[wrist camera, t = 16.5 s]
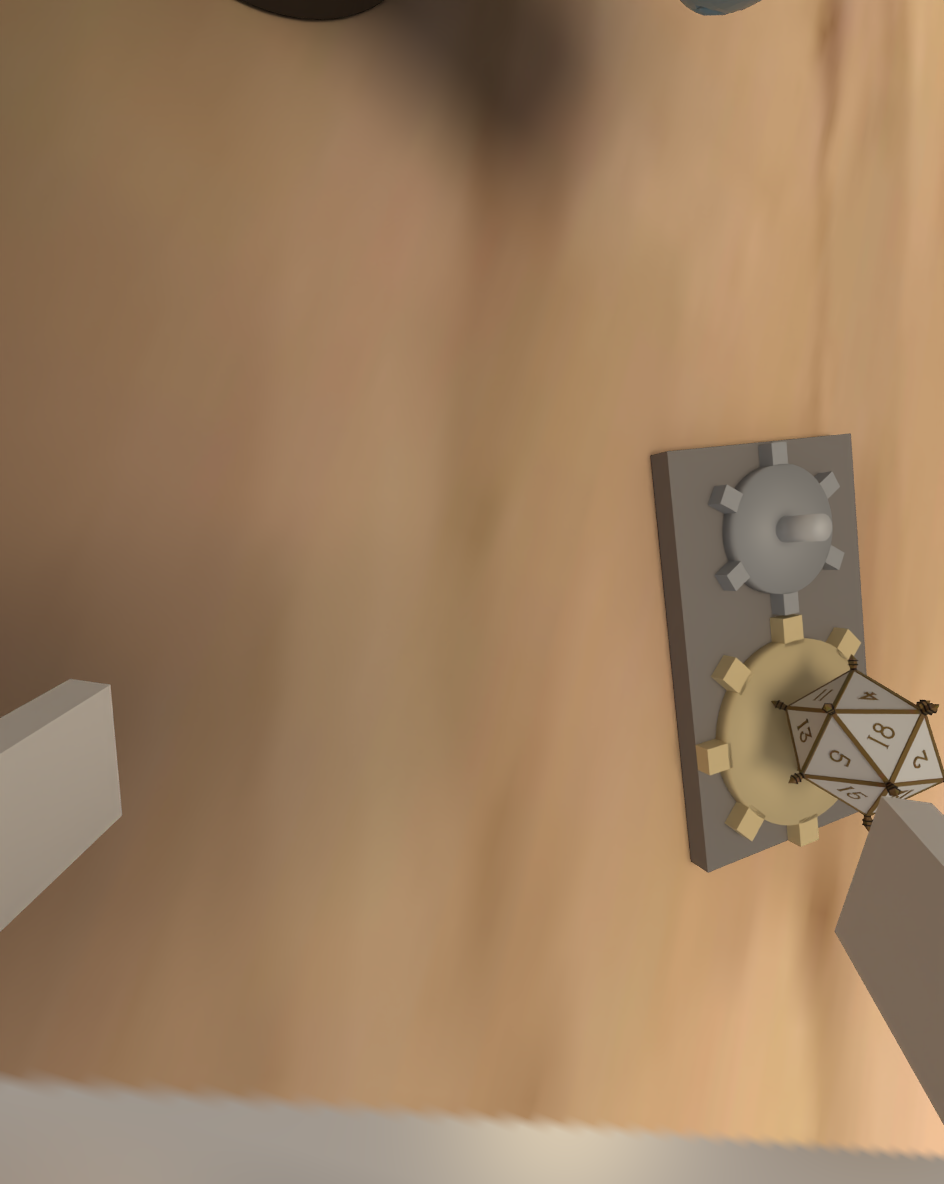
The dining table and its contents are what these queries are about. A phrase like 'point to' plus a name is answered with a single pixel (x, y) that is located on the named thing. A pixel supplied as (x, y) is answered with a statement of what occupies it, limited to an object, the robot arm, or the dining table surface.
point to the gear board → (755, 628)
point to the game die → (863, 742)
